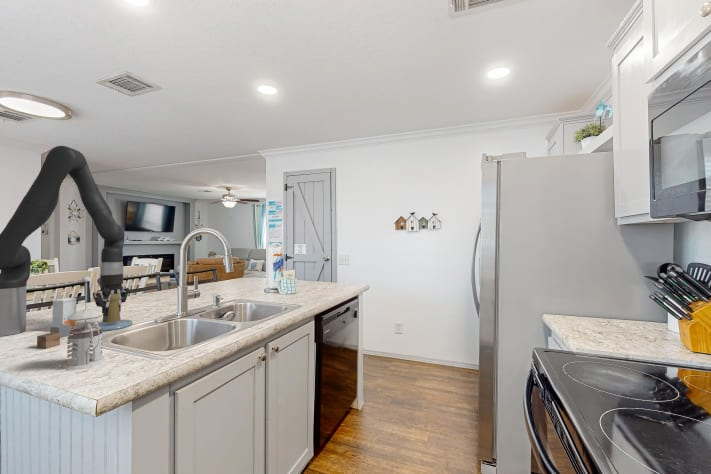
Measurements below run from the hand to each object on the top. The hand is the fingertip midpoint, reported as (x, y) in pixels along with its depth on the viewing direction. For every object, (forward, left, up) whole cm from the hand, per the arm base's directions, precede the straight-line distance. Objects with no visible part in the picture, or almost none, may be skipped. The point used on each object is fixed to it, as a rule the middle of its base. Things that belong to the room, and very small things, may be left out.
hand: (111, 314), depth 131 cm
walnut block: (+3, -24, -5) cm, 25 cm away
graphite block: (-5, -15, -5) cm, 16 cm away
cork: (0, 0, -3) cm, 3 cm away
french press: (+30, -32, -5) cm, 44 cm away
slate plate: (0, 0, -5) cm, 5 cm away
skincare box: (-13, -8, -5) cm, 16 cm away
